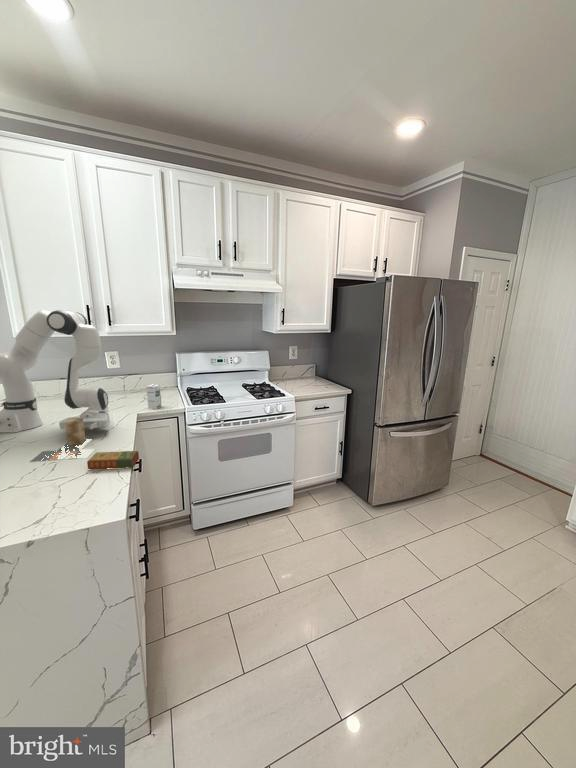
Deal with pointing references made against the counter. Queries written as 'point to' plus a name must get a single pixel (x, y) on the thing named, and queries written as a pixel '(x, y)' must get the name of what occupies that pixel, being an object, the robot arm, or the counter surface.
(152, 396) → the syrup box
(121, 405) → the counter surface
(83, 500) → the counter surface
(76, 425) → the oak block
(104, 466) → the carton
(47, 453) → the t mat
